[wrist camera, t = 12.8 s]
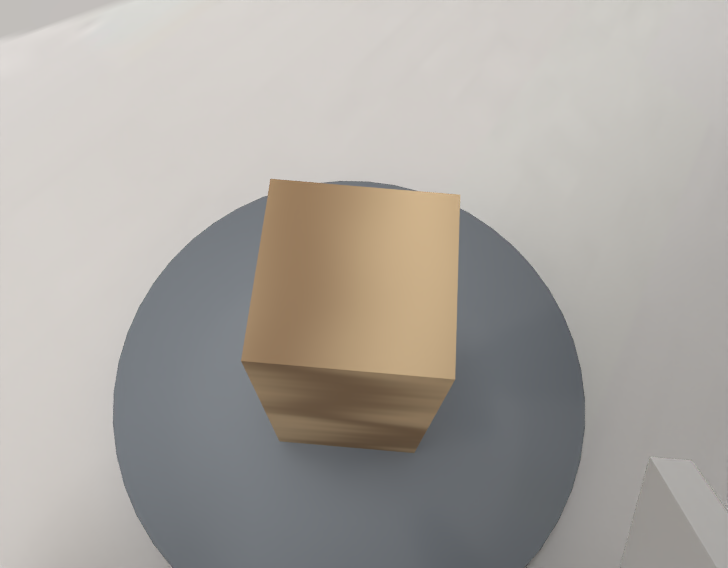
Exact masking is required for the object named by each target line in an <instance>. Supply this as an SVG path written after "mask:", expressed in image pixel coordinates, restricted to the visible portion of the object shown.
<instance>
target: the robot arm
mask: <svg viewBox="0 0 728 568" xmlns="http://www.w3.org/2000/svg"><path fill="white" fill-rule="evenodd" d="M620 568H728V512H727V510H726V509H725V507H724V506H723V504H722V503H721V501H720V500H719V499H718V497H717V496H716V494H715V493H714V491H713V490H712V488H711V487H710V486H709V484H708V483H707V481H706V480H705V478H704V477H703V475H702V474H701V473H700V471H699V470H698V468H697V467H696V465H695V464H694V463H693V461H692V460H684V459H673V458H661V457H650V458H649V461H648V465H647V469H646V472H645V476H644V480H643V483H642V487H641V491H640V494H639V498H638V502H637V505H636V509H635V513H634V516H633V520H632V524H631V527H630V531H629V535H628V538H627V542H626V546H625V549H624V553H623V557H622V560H621V564H620Z"/></svg>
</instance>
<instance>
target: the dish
mask: <svg viewBox="0 0 728 568" xmlns="http://www.w3.org/2000/svg"><path fill="white" fill-rule="evenodd" d="M325 184H337V185H349V186H361V187H373V188H385V189H397V190H409V191H415V190H411V189H407V188H403V187H399V186H395V185H388V184H381V183H373V182H356V181H338V182H327V183H325ZM267 198H268V196H265V197H262V198H260V199H258V200H255V201H253V202H251V203H249V204H247V205H245V206H242V207H240V208H238V209H236V210H235V211H233V212H231V213H230V214H228V215H226V216H225V217H223V218H221V219H220V220H218V221H216V222H215V223H213V224H212V225H211V226H209V227H208V228H207V229H206V230H204V231H203V232H202V233H200V234H199V235H198V236H197V237H195V238H194V239H193V240H192V241H190V242H189V243H188V244H187V245H186V246H185V247H184V248H183V249H182V250H181V251H180V252H179V253H178V254H177V255H176V256H175V257H174V258H173V259H172V260H171V262H170V263H169V264H168V265H167V267H166V268H165V269H164V271H163V272H162V273H161V274H160V276H159V277H158V278H157V279H156V281H155V282H154V283H153V285H152V287H151V288H150V290H149V292H148V293H147V295H146V297H145V298H144V300H143V302H142V303H141V305H140V307H139V309H138V311H137V313H136V315H135V318H134V320H133V322H132V324H131V326H130V329H129V331H128V333H127V336H126V340H125V343H124V346H123V350H122V353H121V356H120V360H119V363H118V370H117V376H116V382H115V388H114V405H113V427H114V436H115V445H116V454H117V458H118V462H119V466H120V470H121V474H122V478H123V482H124V486H125V488H126V491H127V493H128V495H129V498H130V500H131V503H132V505H133V507H134V510H135V512H136V515H137V517H138V518H139V520H140V522H141V523H142V525H143V527H144V529H145V530H146V532H147V534H148V535H149V537H150V539H151V540H152V542H153V544H154V545H155V546H156V548H157V549H158V550H159V551H160V553H161V554H162V555H163V556H164V558H165V559H166V560H167V561H168V562H169V564H170V565H171V566H172V567H173V568H525V566H526V565H527V564H528V563H529V562H530V561H531V559H532V558H533V557H534V556H535V555H536V553H537V552H538V551H539V550H540V549H541V547H542V546H543V544H544V543H545V541H546V539H547V538H548V536H549V534H550V533H551V531H552V530H553V528H554V526H555V525H556V523H557V522H558V520H559V518H560V516H561V513H562V511H563V509H564V506H565V504H566V502H567V500H568V497H569V495H570V493H571V490H572V487H573V484H574V480H575V477H576V473H577V469H578V466H579V462H580V458H581V451H582V444H583V436H584V429H585V397H584V390H583V382H582V374H581V368H580V364H579V360H578V356H577V352H576V349H575V345H574V341H573V338H572V336H571V333H570V331H569V329H568V326H567V324H566V321H565V319H564V316H563V314H562V312H561V310H560V308H559V307H558V305H557V303H556V301H555V299H554V298H553V296H552V294H551V292H550V290H549V289H548V287H547V286H546V285H545V283H544V282H543V281H542V279H541V278H540V276H539V275H538V274H537V272H536V271H535V270H534V268H533V267H532V266H531V265H530V264H529V262H528V261H527V260H526V259H525V258H524V257H523V256H522V255H521V254H520V253H519V252H518V251H517V250H516V249H515V248H514V246H512V245H511V244H510V243H509V242H508V241H507V240H505V239H504V238H503V237H502V236H501V235H499V234H498V233H497V232H496V231H495V230H494V229H492V228H491V227H489V226H488V225H486V224H485V223H483V222H482V221H480V220H479V219H477V218H476V217H474V216H473V215H471V214H470V213H468V212H466V211H464V210H462V209H460V217H459V255H458V292H457V330H456V367H455V381H454V382H453V384H452V386H451V388H450V390H449V391H448V393H447V395H446V397H445V399H444V400H443V402H442V404H441V406H440V408H439V409H438V411H437V413H436V415H435V417H434V418H433V420H432V422H431V424H430V426H429V427H428V429H427V431H426V433H425V434H424V436H423V438H422V440H421V442H420V443H419V445H418V447H417V449H416V451H415V452H414V453H407V452H396V451H385V450H373V449H362V448H350V447H339V446H327V445H316V444H304V443H293V442H281V441H279V439H278V437H277V435H276V433H275V431H274V429H273V427H272V425H271V423H270V421H269V418H268V416H267V414H266V412H265V410H264V408H263V406H262V404H261V402H260V400H259V398H258V395H257V393H256V391H255V389H254V387H253V385H252V383H251V381H250V379H249V377H248V375H247V373H246V370H245V368H244V366H243V364H242V362H241V358H242V351H243V345H244V339H245V333H246V327H247V321H248V315H249V308H250V302H251V296H252V290H253V284H254V278H255V271H256V265H257V259H258V253H259V247H260V241H261V235H262V228H263V222H264V216H265V210H266V204H267Z"/></svg>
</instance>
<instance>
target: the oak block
mask: <svg viewBox="0 0 728 568" xmlns="http://www.w3.org/2000/svg"><path fill="white" fill-rule="evenodd" d="M459 217H460V195H456V194H444V193H432V192H420V191H409V190H397V189H385V188H373V187H361V186H349V185H337V184H325V183H313V182H301V181H289V180H277V179H270V185H269V191H268V198H267V204H266V210H265V216H264V222H263V228H262V235H261V241H260V247H259V253H258V259H257V265H256V271H255V278H254V284H253V290H252V296H251V302H250V308H249V315H248V321H247V327H246V333H245V339H244V345H243V351H242V358H241V362H242V364H243V366H244V368H245V370H246V373H247V375H248V377H249V379H250V381H251V383H252V385H253V387H254V389H255V391H256V393H257V395H258V398H259V400H260V402H261V404H262V406H263V408H264V410H265V412H266V414H267V416H268V418H269V421H270V423H271V425H272V427H273V429H274V431H275V433H276V435H277V437H278V439H279V441H281V442H293V443H304V444H316V445H327V446H339V447H350V448H362V449H373V450H385V451H396V452H407V453H414V452H415V451H416V449H417V447H418V445H419V443H420V442H421V440H422V438H423V436H424V434H425V433H426V431H427V429H428V427H429V426H430V424H431V422H432V420H433V418H434V417H435V415H436V413H437V411H438V409H439V408H440V406H441V404H442V402H443V400H444V399H445V397H446V395H447V393H448V391H449V390H450V388H451V386H452V384H453V382H454V381H455V367H456V330H457V292H458V255H459Z"/></svg>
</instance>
